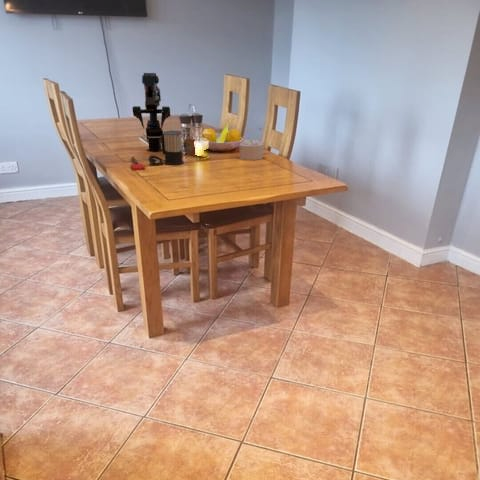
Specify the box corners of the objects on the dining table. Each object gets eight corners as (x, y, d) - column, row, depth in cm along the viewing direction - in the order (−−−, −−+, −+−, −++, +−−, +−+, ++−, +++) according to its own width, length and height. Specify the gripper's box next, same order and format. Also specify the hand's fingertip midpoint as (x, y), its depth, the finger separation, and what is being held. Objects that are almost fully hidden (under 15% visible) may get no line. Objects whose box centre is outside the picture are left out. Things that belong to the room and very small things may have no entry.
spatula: (127, 159, 232) (127, 157, 231) (138, 159, 234) (138, 156, 233) (133, 170, 216) (133, 167, 215) (144, 169, 217) (144, 166, 216)
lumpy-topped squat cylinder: (265, 158, 243) (266, 141, 238) (246, 161, 236) (246, 143, 231) (253, 154, 250) (254, 137, 245) (234, 157, 243) (235, 140, 238)
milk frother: (187, 162, 230) (185, 131, 222) (166, 168, 219) (164, 136, 211) (165, 158, 237) (163, 128, 229) (145, 164, 225) (142, 132, 217)
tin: (183, 153, 247) (182, 137, 243) (187, 152, 249) (187, 136, 245) (202, 158, 239) (201, 141, 234) (206, 157, 241) (206, 140, 236)
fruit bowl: (227, 156, 244) (227, 134, 238) (187, 149, 256) (186, 127, 250) (253, 147, 264) (254, 126, 258) (215, 141, 276) (215, 121, 270)
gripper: (130, 89, 221) (132, 120, 221) (168, 89, 224) (170, 120, 223) (133, 100, 232) (134, 130, 232) (169, 101, 235) (171, 130, 234)
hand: (152, 128), depth 230 cm, fingers open, 9 cm apart
